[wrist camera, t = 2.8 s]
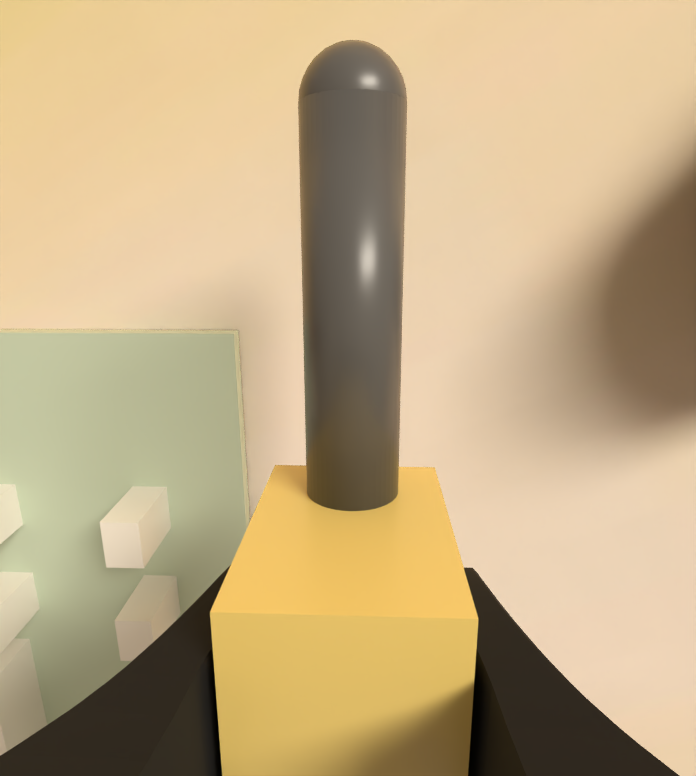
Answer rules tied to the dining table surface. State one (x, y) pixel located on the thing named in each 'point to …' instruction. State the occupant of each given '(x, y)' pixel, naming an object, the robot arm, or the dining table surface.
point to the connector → (348, 493)
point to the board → (109, 502)
